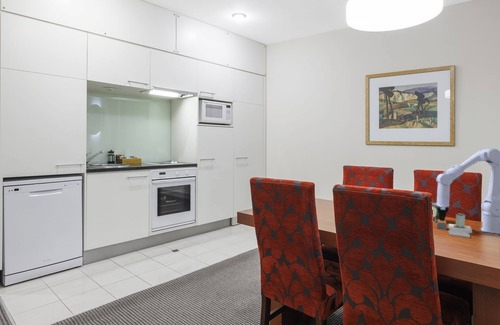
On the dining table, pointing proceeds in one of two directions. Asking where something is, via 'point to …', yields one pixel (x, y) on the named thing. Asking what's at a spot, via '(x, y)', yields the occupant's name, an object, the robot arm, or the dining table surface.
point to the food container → (435, 213)
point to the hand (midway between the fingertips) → (441, 220)
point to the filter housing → (454, 228)
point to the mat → (459, 233)
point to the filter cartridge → (460, 220)
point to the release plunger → (442, 222)
